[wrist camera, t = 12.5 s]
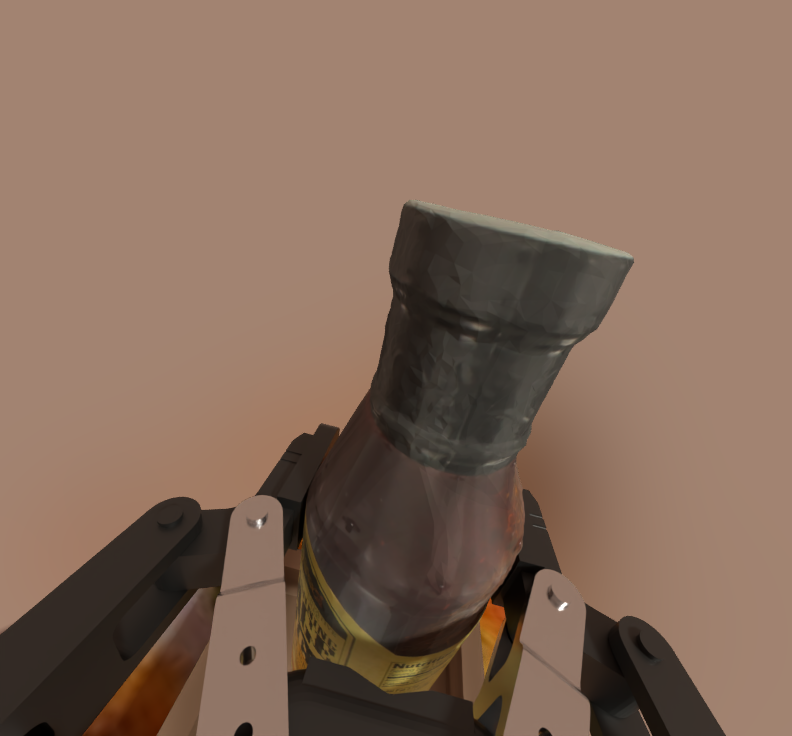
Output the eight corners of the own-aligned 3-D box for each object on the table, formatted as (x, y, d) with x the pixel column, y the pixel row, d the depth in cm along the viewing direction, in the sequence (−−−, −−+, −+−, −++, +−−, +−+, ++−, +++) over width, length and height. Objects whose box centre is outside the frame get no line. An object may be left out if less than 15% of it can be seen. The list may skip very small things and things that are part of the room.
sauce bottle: (304, 587, 17) (349, 188, 8) (411, 591, 18) (556, 235, 9) (269, 779, 12) (296, 151, 3) (429, 770, 12) (854, 287, 4)
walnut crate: (76, 949, 14) (37, 951, 11) (264, 573, 28) (264, 539, 25) (476, 1075, 13) (522, 1104, 11) (459, 626, 27) (477, 596, 25)
